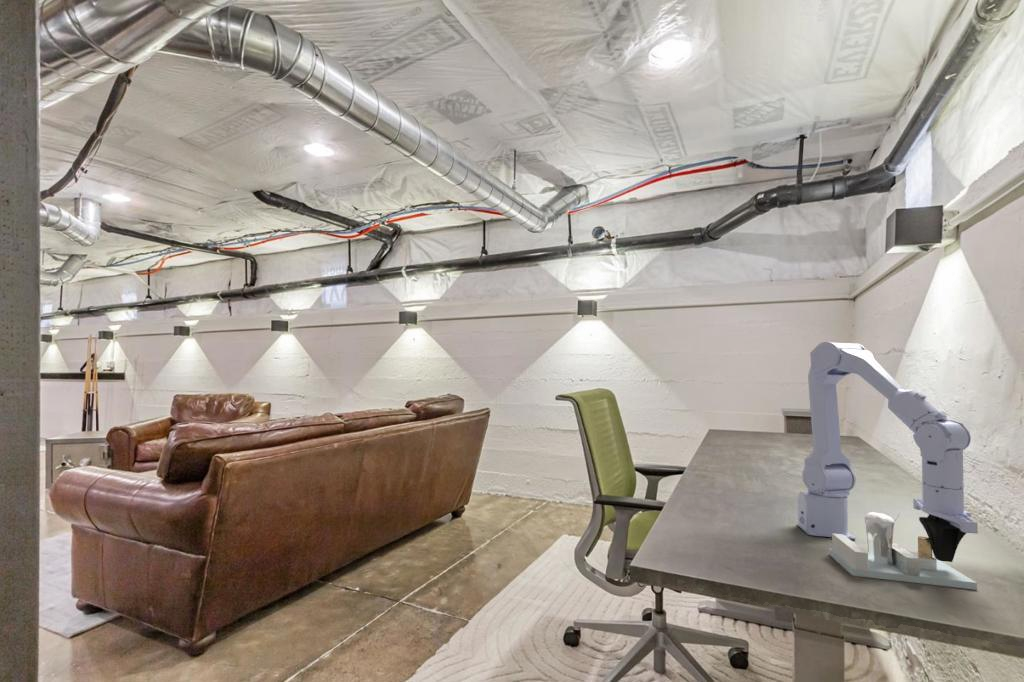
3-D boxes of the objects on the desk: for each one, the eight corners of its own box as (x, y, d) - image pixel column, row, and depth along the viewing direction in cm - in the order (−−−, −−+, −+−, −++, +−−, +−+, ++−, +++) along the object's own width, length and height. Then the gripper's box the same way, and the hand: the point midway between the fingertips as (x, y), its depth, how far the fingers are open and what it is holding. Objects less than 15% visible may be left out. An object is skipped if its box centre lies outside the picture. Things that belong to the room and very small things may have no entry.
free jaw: (906, 574, 85) (906, 544, 85) (877, 553, 94) (877, 526, 95) (949, 579, 83) (949, 548, 83) (915, 557, 93) (915, 530, 93)
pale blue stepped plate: (852, 575, 87) (852, 551, 87) (829, 554, 96) (829, 533, 96) (976, 589, 82) (976, 564, 82) (939, 566, 92) (939, 543, 92)
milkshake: (897, 571, 86) (897, 515, 87) (861, 561, 90) (861, 507, 91) (903, 564, 89) (902, 510, 90) (868, 555, 93) (867, 504, 94)
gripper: (998, 498, 80) (1000, 579, 80) (942, 478, 95) (943, 548, 94) (949, 494, 82) (950, 574, 81) (901, 475, 96) (901, 543, 95)
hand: (943, 560), depth 88 cm, fingers closed, pressing on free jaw
